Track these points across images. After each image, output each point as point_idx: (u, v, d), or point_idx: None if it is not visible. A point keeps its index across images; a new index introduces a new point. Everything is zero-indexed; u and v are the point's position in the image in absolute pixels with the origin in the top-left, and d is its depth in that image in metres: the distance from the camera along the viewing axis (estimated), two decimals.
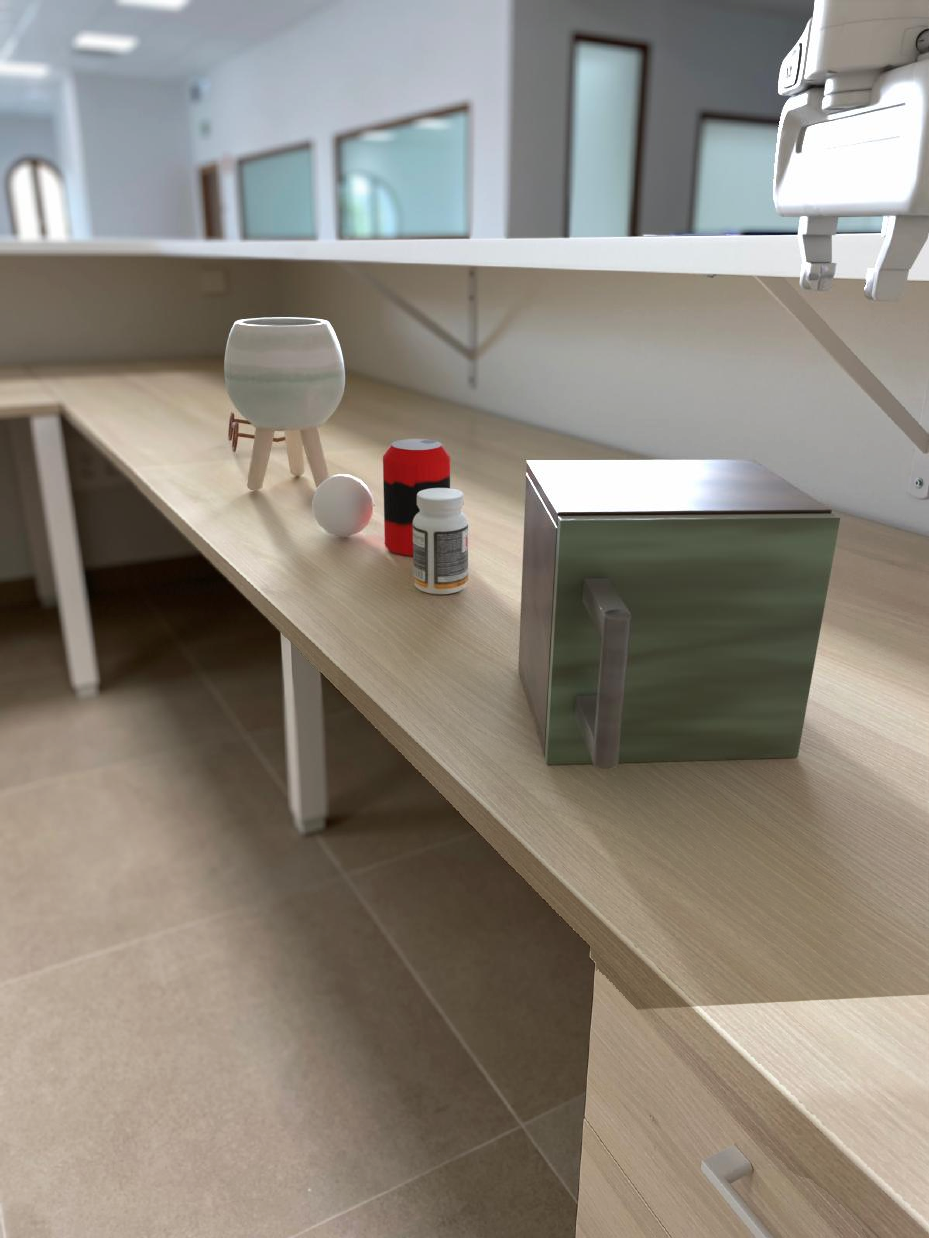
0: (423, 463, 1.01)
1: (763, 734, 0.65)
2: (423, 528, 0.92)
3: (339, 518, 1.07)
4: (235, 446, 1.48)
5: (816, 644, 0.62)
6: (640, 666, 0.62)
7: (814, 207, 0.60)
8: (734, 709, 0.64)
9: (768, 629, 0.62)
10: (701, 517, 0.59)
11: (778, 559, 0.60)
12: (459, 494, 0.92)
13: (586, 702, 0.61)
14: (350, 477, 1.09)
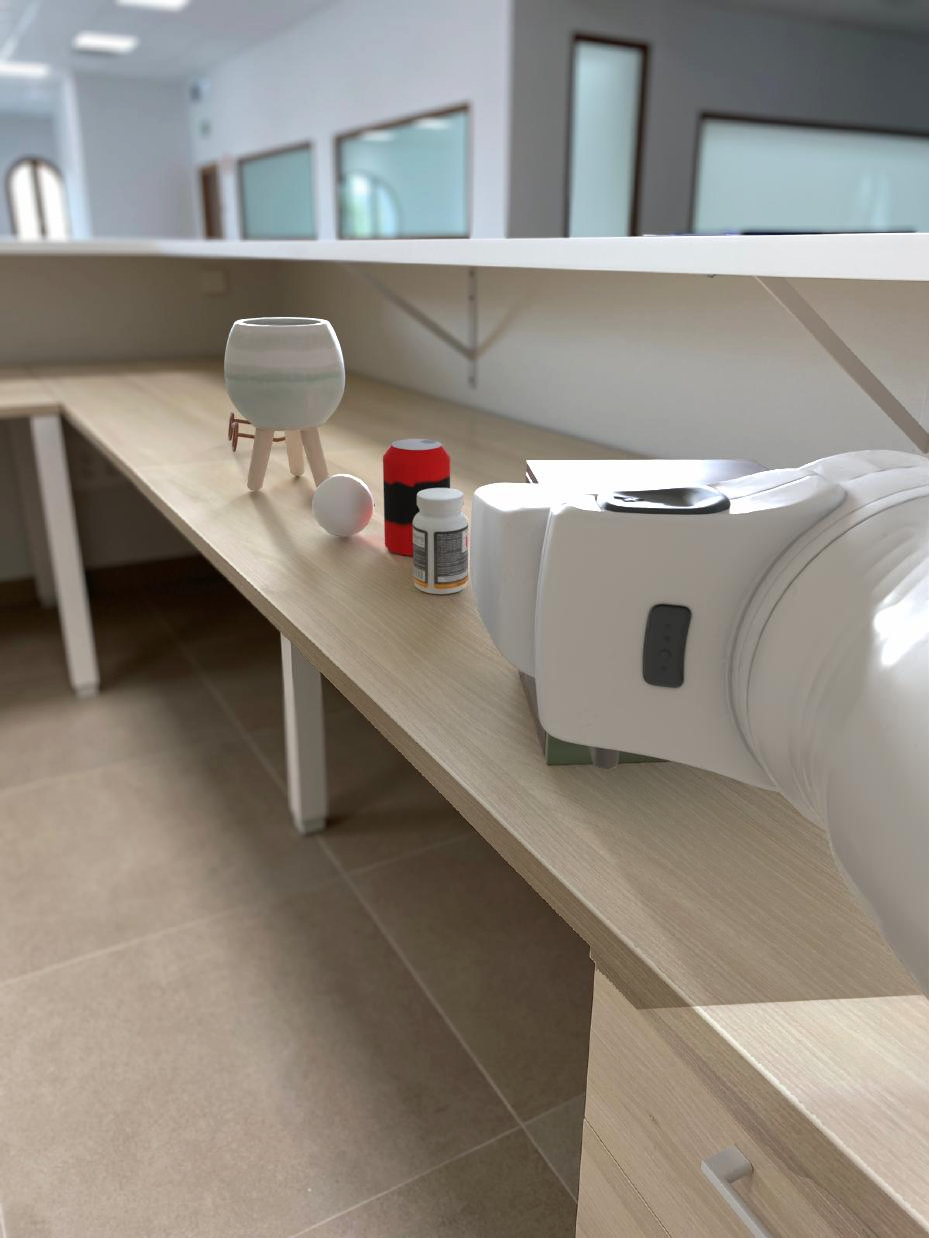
0: (423, 463, 1.01)
1: None
2: (423, 528, 0.92)
3: (339, 518, 1.07)
4: (235, 446, 1.48)
5: None
6: None
7: None
8: None
9: None
10: None
11: None
12: (459, 494, 0.92)
13: None
14: (350, 477, 1.09)
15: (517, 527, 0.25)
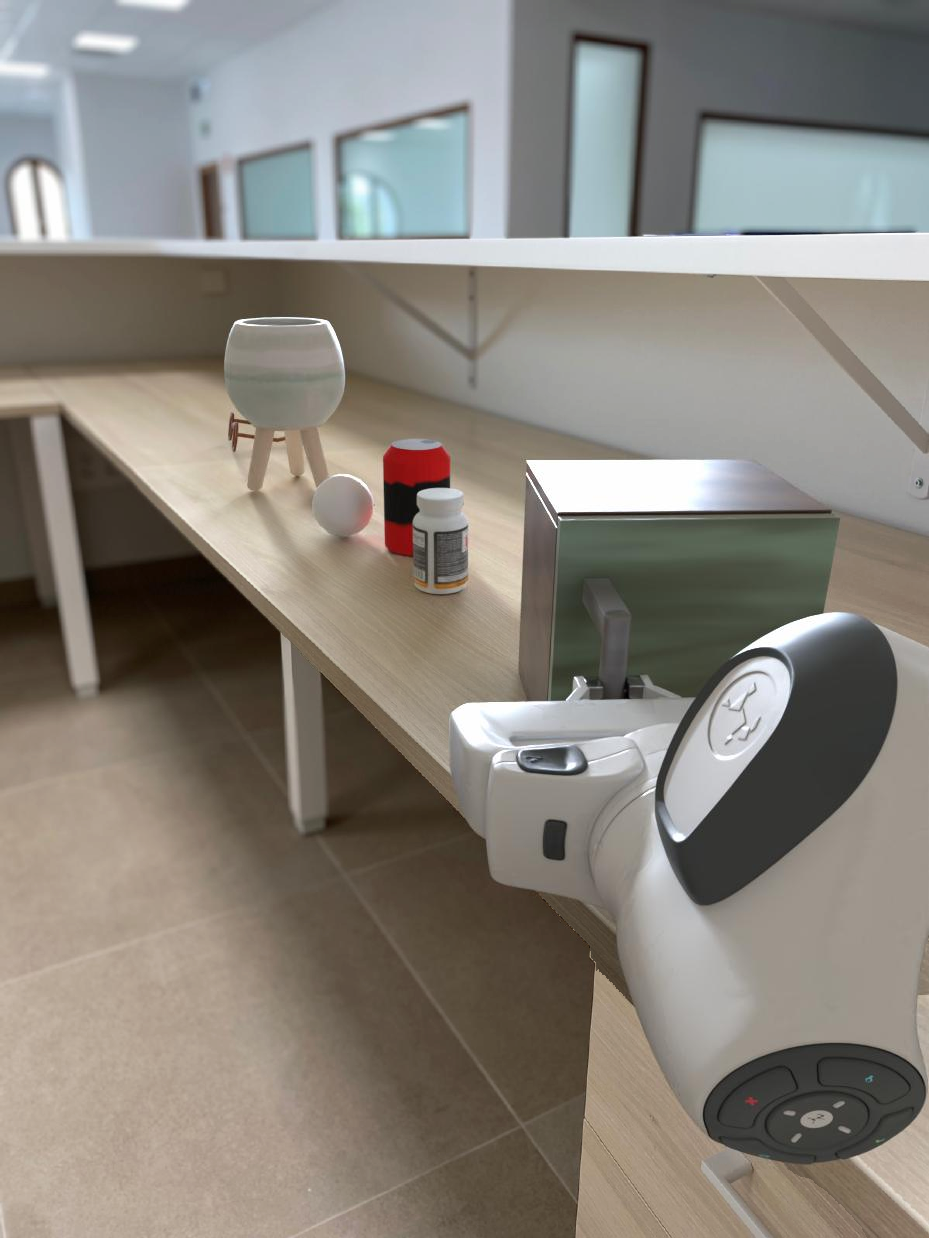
0: (423, 463, 1.01)
1: None
2: (423, 528, 0.92)
3: (339, 518, 1.07)
4: (235, 446, 1.48)
5: None
6: (640, 666, 0.62)
7: None
8: None
9: (768, 629, 0.62)
10: (701, 517, 0.59)
11: (778, 559, 0.60)
12: (459, 494, 0.92)
13: None
14: (350, 477, 1.09)
15: (475, 760, 0.45)
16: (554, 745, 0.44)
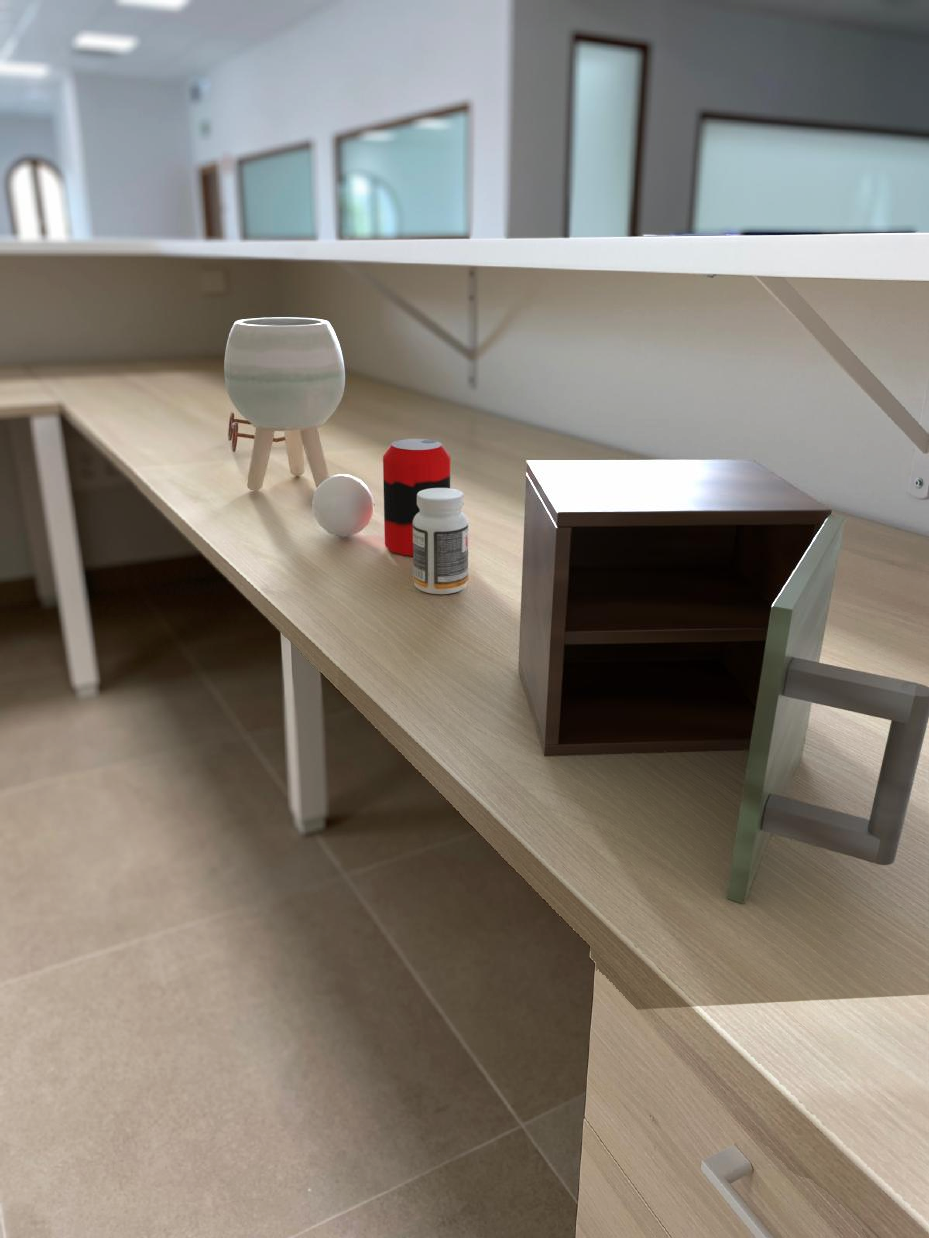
0: (423, 463, 1.01)
1: (799, 749, 0.63)
2: (423, 528, 0.92)
3: (339, 518, 1.07)
4: (235, 446, 1.48)
5: (822, 643, 0.63)
6: (785, 739, 0.53)
7: None
8: (797, 738, 0.60)
9: (816, 646, 0.59)
10: (815, 555, 0.52)
11: (829, 574, 0.57)
12: (459, 494, 0.92)
13: (786, 807, 0.51)
14: (350, 477, 1.09)
15: None
16: None
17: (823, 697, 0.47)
